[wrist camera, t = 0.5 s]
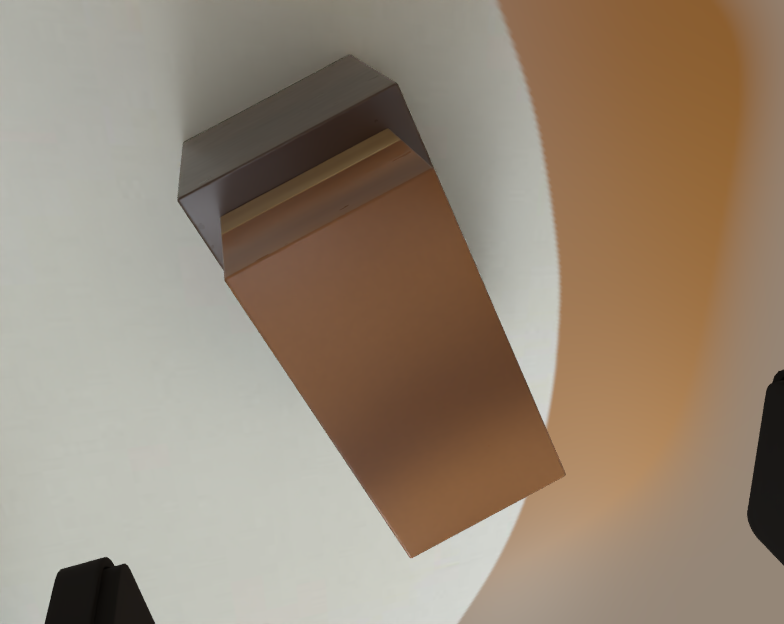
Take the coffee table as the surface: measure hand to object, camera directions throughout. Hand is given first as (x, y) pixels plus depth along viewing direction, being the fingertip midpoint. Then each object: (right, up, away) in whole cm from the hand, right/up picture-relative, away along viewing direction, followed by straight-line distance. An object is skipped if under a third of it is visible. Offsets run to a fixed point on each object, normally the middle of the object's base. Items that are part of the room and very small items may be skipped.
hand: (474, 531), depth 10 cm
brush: (-1, +3, +13) cm, 13 cm away
